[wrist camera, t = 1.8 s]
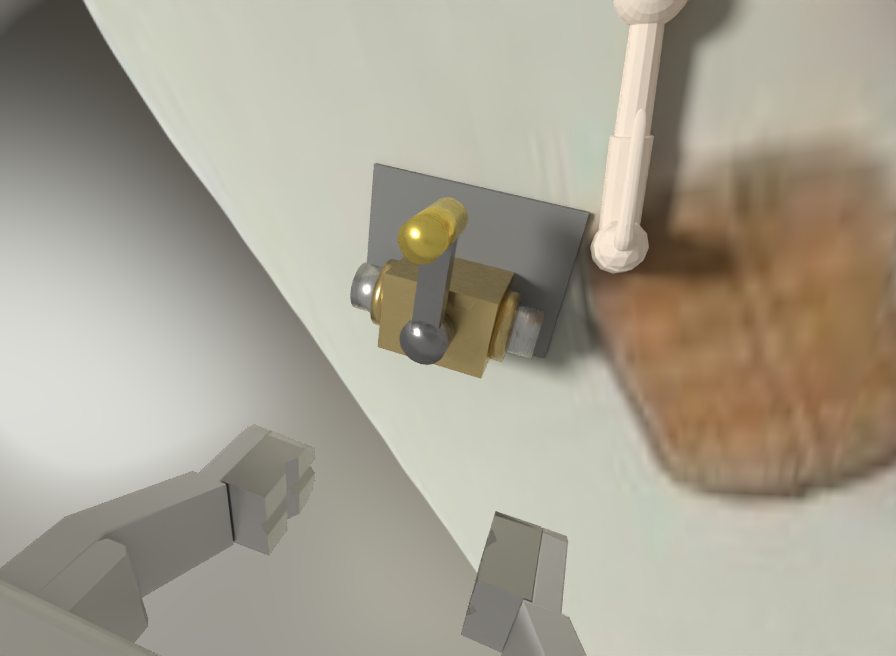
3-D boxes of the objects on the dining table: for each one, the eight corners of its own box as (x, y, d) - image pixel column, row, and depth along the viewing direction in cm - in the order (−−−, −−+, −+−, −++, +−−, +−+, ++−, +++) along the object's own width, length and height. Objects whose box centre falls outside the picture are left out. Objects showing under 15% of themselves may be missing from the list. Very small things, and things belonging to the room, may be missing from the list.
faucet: (680, -7, 30) (721, -131, 20) (642, 275, 32) (664, 280, 23) (612, -1, 31) (622, -117, 21) (582, 270, 34) (579, 273, 24)
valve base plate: (589, 212, 33) (589, 213, 32) (545, 355, 39) (544, 358, 38) (376, 163, 35) (373, 164, 35) (365, 303, 41) (364, 305, 41)
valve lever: (451, 354, 33) (425, 398, 28) (409, 341, 34) (376, 383, 29) (479, 201, 28) (453, 226, 23) (428, 190, 28) (392, 211, 24)
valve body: (553, 282, 35) (543, 316, 30) (534, 349, 38) (522, 391, 33) (380, 237, 38) (344, 262, 33) (374, 303, 41) (341, 335, 36)
